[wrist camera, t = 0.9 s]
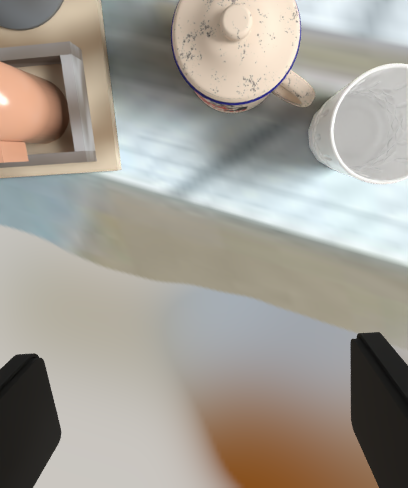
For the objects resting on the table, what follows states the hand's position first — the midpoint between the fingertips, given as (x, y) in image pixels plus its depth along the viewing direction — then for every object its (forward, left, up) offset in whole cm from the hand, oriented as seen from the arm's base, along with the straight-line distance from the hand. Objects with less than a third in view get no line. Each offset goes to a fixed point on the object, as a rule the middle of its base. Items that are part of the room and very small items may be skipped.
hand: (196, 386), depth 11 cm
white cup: (-8, +12, -27) cm, 31 cm away
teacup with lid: (-14, +3, -27) cm, 31 cm away
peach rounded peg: (-12, -17, -26) cm, 33 cm away
